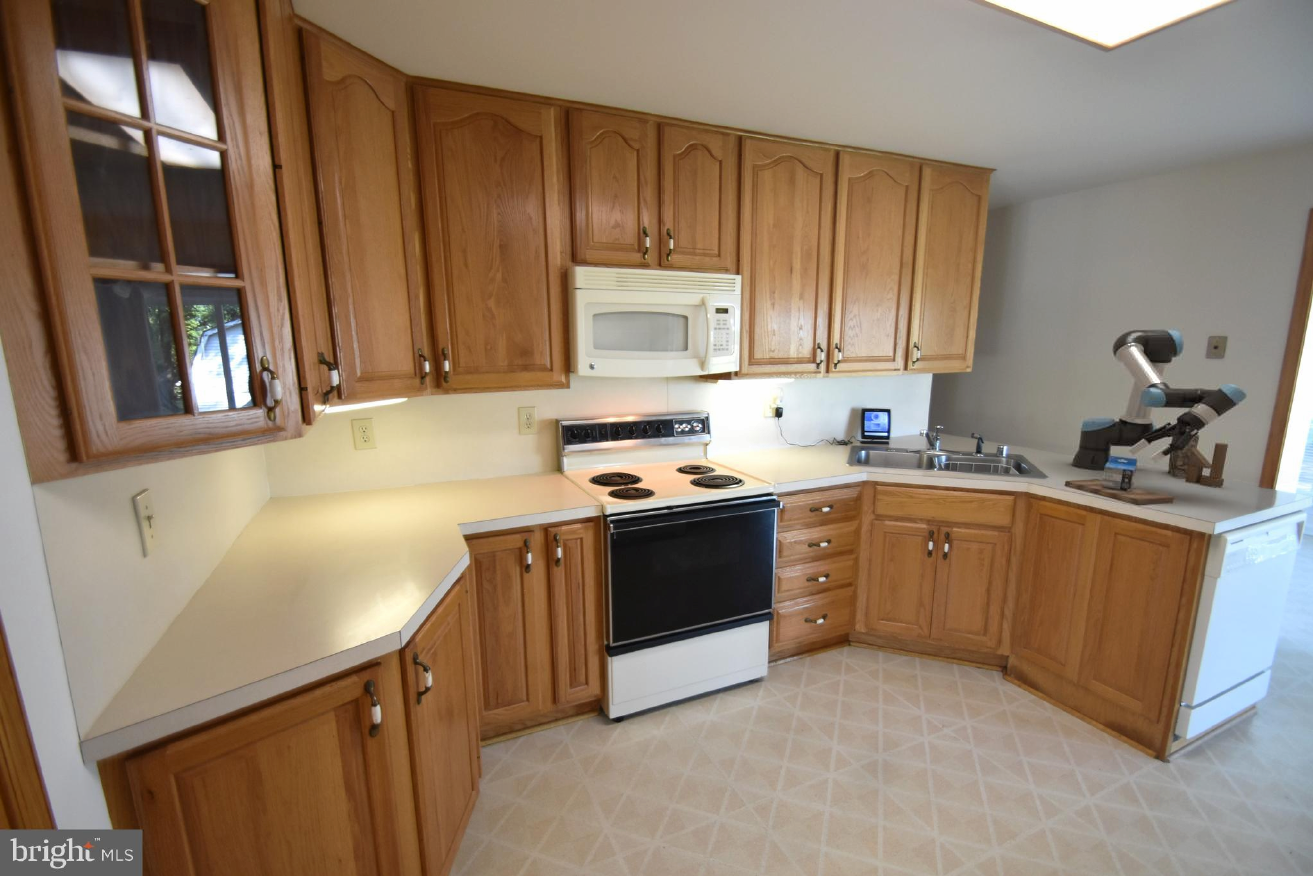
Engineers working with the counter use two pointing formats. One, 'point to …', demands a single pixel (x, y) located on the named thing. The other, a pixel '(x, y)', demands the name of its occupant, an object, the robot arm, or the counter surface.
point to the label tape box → (1119, 473)
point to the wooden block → (1207, 466)
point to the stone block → (1181, 459)
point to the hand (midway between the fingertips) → (1141, 456)
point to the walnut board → (1120, 492)
